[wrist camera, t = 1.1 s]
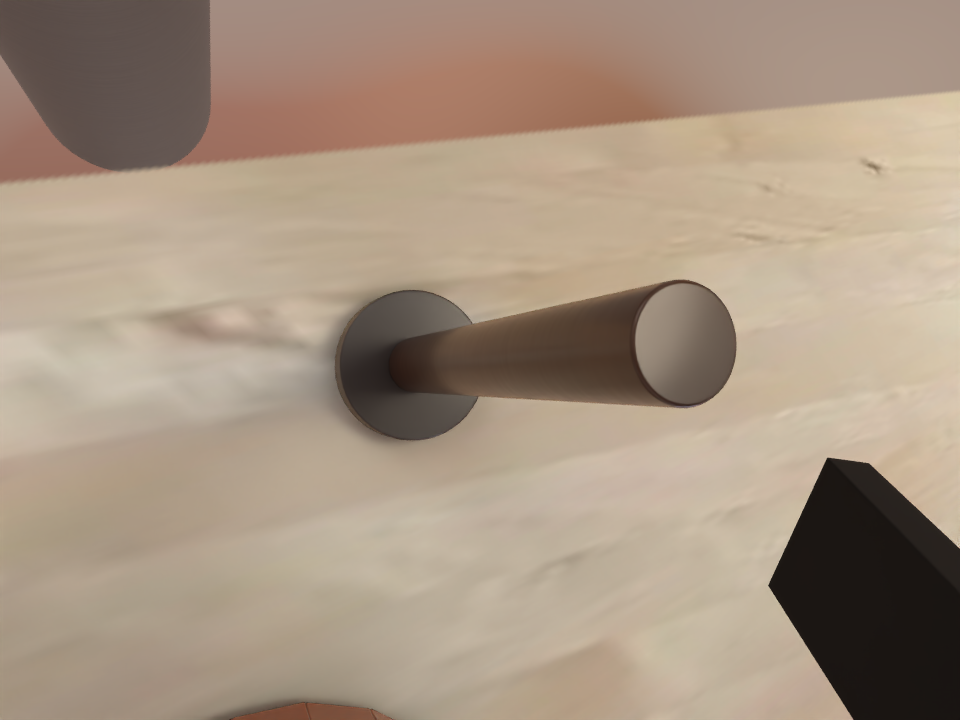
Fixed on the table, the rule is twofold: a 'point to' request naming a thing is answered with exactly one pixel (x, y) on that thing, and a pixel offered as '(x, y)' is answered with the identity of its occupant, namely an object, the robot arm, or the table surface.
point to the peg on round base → (531, 355)
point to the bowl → (315, 713)
